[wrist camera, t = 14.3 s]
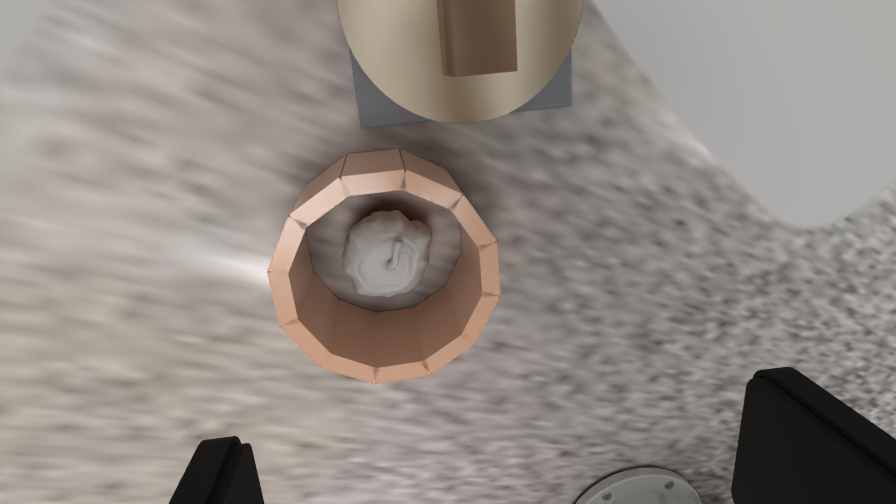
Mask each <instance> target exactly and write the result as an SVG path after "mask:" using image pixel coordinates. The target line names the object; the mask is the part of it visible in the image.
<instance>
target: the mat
mask: <svg viewBox="0 0 896 504" xmlns="http://www.w3.org/2000/svg"><path fill="white" fill-rule="evenodd" d="M349 48H350V46H349ZM350 55H351V61H352V68H353V75H354V82H355V89H356V96H357V103H358V110H359V117H360V123H361V128H369V127H379V126H388V125H398V124H407V123H417V122H426V121H435V120H431V119H427V118H425V117H422V116H420V115H417V114H415V113H412V112H411V111H409V110H407V109H405V108H403V107H401V106H400V105H398V104H397V103H395V102H394V101H393V100H391V99H390V98H389V97H387V96H386V95H385V94H384V93H383V92H382V91H381V90H380V89H379V88H378V87H377V86H376V85H374V83H373V82H372V81H371V80H370V78H369V77H368V76H367V75H366V74H365V72H364V71H363V69H362V68H361V66H360V65H359V63H358V61H357V60H356V58H355V57H354V55H353V53H352V50H351V48H350ZM568 106H571V48H570V50H569V53H568V54H567V56H566V58H565V60H564V62H563V63H562V65H561V67H560V68H559V70H558V71H557V72H556V74H555V75H554V76H553V78H552V79H551V80H550V81H549V82H548V83H547V85H546V86H545V87H544V88H543V89H542V90H541V91H540V92H539V93H538V94H536V95H535V96H534V97H533V98H531V99H530V100H529V101H528V102H526V103H525V104H523V105H522V106H520V107H518V108H517V109H515V110H513V111H511V112H521V111H530V110H539V109H549V108H558V107H568ZM511 112H509V113H511Z"/></svg>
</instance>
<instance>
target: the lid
mask: <svg viewBox="0 0 896 504" xmlns="http://www.w3.org/2000/svg"><path fill="white" fill-rule="evenodd" d="M337 6H338V11H339V16H340V21H341V25H342V28H343V31H344V34H345V37H346V40H347V42H348V44H349V46H350V48H351V50H352V53H353V55H354V57H355V58H356V60H357V61H358V63H359V65H360V66H361V68H362V69H363V71H364V72H365V74H366V75H367V76H368V77H369V78H370V80H371V81H372V82H373V83H374V85H376V86H377V87H378V88H379V89H380V90H381V91H382V92H383V93H384V94H385V95H386V96H387V97H389V98H390V99H391V100H393V101H394V102H395V103H397V104H398V105H400V106H401V107H403V108H405V109H407V110H409V111H411V112H412V113H415V114H417V115H420V116H422V117H425V118H427V119H431V120H436V121H440V122H446V123H456V124H461V123H476V122H482V121H487V120H490V119H494V118H497V117H500V116H503V115H505V114H507V113H509V112H511V111H513V110H515V109H517V108H518V107H520V106H522V105H523V104H525V103H526V102H528V101H529V100H530V99H531V98H533V97H534V96H535V95H536V94H538V93H539V92H540V91H541V90H542V89H543V88H544V87H545V86H546V85H547V83H548V82H549V81H550V80H551V79H552V78H553V76H554V75H555V74H556V72H557V71H558V70H559V68H560V67H561V65H562V63H563V62H564V60H565V58H566V56H567V54H568V53H569V50H570V48H571V46H572V43H573V41H574V39H575V36H576V33H577V29H578V26H579V23H580V18H581V13H582V7H583V0H337Z"/></svg>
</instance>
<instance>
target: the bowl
mask: <svg viewBox="0 0 896 504" xmlns="http://www.w3.org/2000/svg"><path fill="white" fill-rule="evenodd" d="M396 190H404V191H407V192H409V193H412V194H414V195H416V196H419V197H421V198H424V199H426V200H428V201H431V202H433V203H436V204H438V205H440V206H443V207H445V208H447V209H450V210H451V211H452V212H453V214H454V215H455V216H456V218H457V219H458V221H459V222H460V233H461V245H462V252H461V254H460V257H459V259H458V261H457V263H456V265H455V267H454V269H453V271H452V273H451V275H450V277H449V279H448V281H447V283H446V285H445V286H444V287H442V288H441V289H439V290H438V291H437V292H435V293H434V294H432V295H431V296H429V297H428V298H427V299H425V300H424V301H422V302H421V303H420V304H418V305H417V306H415V307H412V308H405V309H398V310H390V311H383V312H373V311H370V310H367V309H364V308H361V307H358V306H356V305H353V304H350V303H347V302H344V301H341V300H339V299H338V298H337V297H336V296H335V295H334V294H333V293H332V292H331V290H330V289H329V288H328V287H327V286H326V285H325V284H324V283H323V282H322V281H321V279H320V278H319V277H318V276H317V275H316V274H315V273H314V272H313V270H312V265H311V259H310V254H309V249H308V244H307V239H306V234H305V232H306V229H307V227H308V226H309V225H310V224H312V223H313V222H314V221H316V220H317V219H318V218H320V217H321V216H322V215H324V214H325V213H326V212H328V211H329V210H330V209H332V208H333V207H335V206H336V205H337V204H339V203H340V202H341V201H343V200H344V199H345V198H347V197H348V196H353V195H362V194H370V193H379V192H387V191H396ZM267 271H268V272H267V273H268V278H269V282H270V286H271V291H272V295H273V299H274V304H275V308H276V312H277V317H278V321H279V325H280V326H281V329H282V330H283V331H284V332H285V333H286V334H287V335H288V336H289V337H290V338H291V339H292V340H293V341H294V342H295V343H296V344H297V345H298V346H299V347H300V348H301V349H302V350H303V351H304V352H305V353H306V354H307V355H308V356H309V357H310V358H311V359H312V360H313V361H314V362H315V363H316V364H317V365H318V366H320V365H321V368H324V369H327V370H331V371H334V372H337V373H340V374H344V375H347V376H350V377H353V378H357V379H360V380H363V381H366V382H370V383H374V381H375V384H376V383H383V382H389V381H396V380H402V379H409V378H415V377H422V376H428V375H429V373H430V374H432V373H434V372H435V371H437V370H438V369H440V368H441V367H443V366H444V365H446V364H447V363H448V362H450V361H451V360H453V359H454V358H456V357H457V356H459V355H460V354H462V353H463V352H464V351H466V350H467V349H469V348H470V347H472V346H473V345H475V344H474V343H476V342H477V340H478V338H479V336H480V334H481V332H482V330H483V328H484V327H485V325H486V323H487V321H488V319H489V317H490V315H491V313H492V311H493V309H494V307H495V305H496V304H497V302H498V300H499V298H500V296H499V295H500V280H499V263H498V245H497V240H496V239H495V238H494V236H493V235H492V233H491V232H490V231H489V229H488V228H487V226H486V225H485V223H484V222H483V221H482V219H481V218H480V216H479V215H478V213H477V212H476V211H475V209H474V208H473V206H472V205H471V204H470V202H469V201H468V199H467V198H466V197H465V195H464V194H463V192H462V191H461V190H460V188H459V187H458V185H457V184H456V183H455V181H454V180H453V178H452V177H451V176H450V174H449V173H448V171H447V170H446V169H445V168H443V167H441V166H438V165H436V164H434V163H431V162H429V161H427V160H425V159H422V158H420V157H418V156H416V155H413V154H411V153H409V152H406V151H404V150H402V149H400V150H398V148H396V149H387V150H378V151H369V152H360V153H351V154H348V155H345V156H344V157H342V158H341V159H340V160H338V161H337V162H336V163H334V164H333V165H332V166H330V167H329V168H328V169H326V170H325V171H324V172H322V173H321V174H320V175H318V176H317V177H316V178H314V179H313V180H312V181H310V182H309V183H308V184H307V185H306V186H305V188H304V189H303V191H302V193H301V195H300V196H299V198H298V200H297V202H296V203H295V205H294V207H293V209H292V210H291V212H290V214H289V215H288V218H287V220H286V223H285V226H284V228H283V231H282V233H281V236H280V239H279V241H278V244H277V247H276V249H275V252H274V255H273V257H272V260H271V263H270V265H269V268H268V270H267Z"/></svg>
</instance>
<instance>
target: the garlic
mask: <svg viewBox="0 0 896 504" xmlns="http://www.w3.org/2000/svg"><path fill="white" fill-rule="evenodd" d="M431 238H432V232H431V230H430V229H429V228H428V227H427V226H425V225H424V224H423V223H422V222H420V221H410V220H409V219H408V218H407V217H405V216H404V215H403V214H402V213H401V212H400V211H398V210H393V211H391V212H388V211H379V212H373V213H372V215H371V216H368V217H365V218H363V219H362V220H361V221H360V222H359V223H356V224H355V225H353V226H352V227H351V228H350V230H349V236H347V238H346V248H345V249H344V251H343V254H342V268H343V271H344V272H345V273H346V274H347V275H349V276H350V277H351V278H352V281H353V282H354V288H355V290H356V292H357V293H359V294H361V295H366V296H377V297H379V296H384V297H392V296H395V295H397V294H399V293H407V292H409V291H410V290H412V289H414V288H415V286H416V285H417V284H418V283H419V282H420V281H421V279H422V277H423V274H424V271H425V268H426V266H427V265H428V263H429V255H428V249H429V243H430V241H431Z"/></svg>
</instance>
